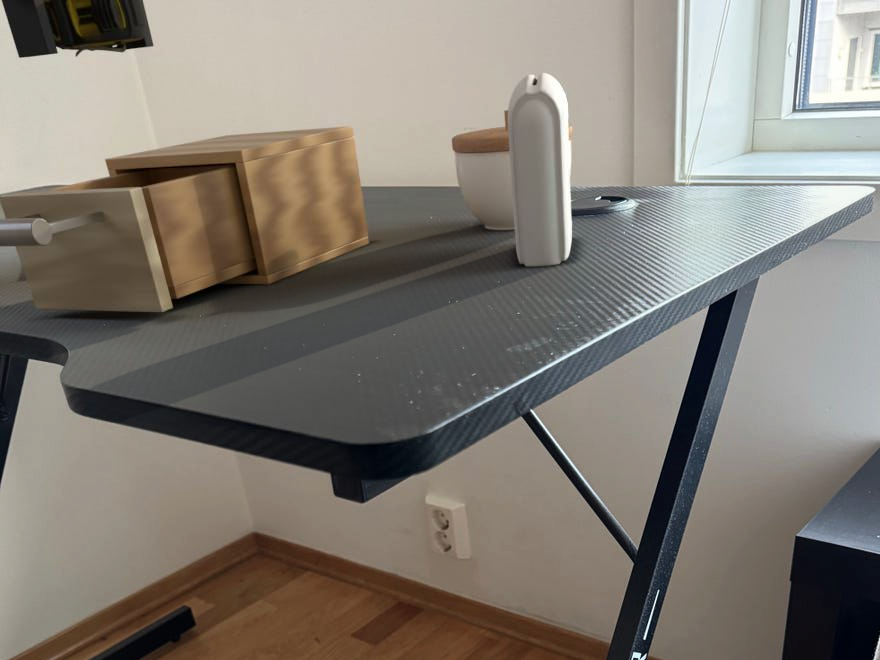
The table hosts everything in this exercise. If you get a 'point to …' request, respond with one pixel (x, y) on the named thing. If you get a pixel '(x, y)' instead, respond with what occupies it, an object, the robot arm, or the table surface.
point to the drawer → (130, 238)
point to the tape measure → (95, 23)
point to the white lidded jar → (488, 174)
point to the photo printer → (540, 171)
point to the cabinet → (281, 193)
